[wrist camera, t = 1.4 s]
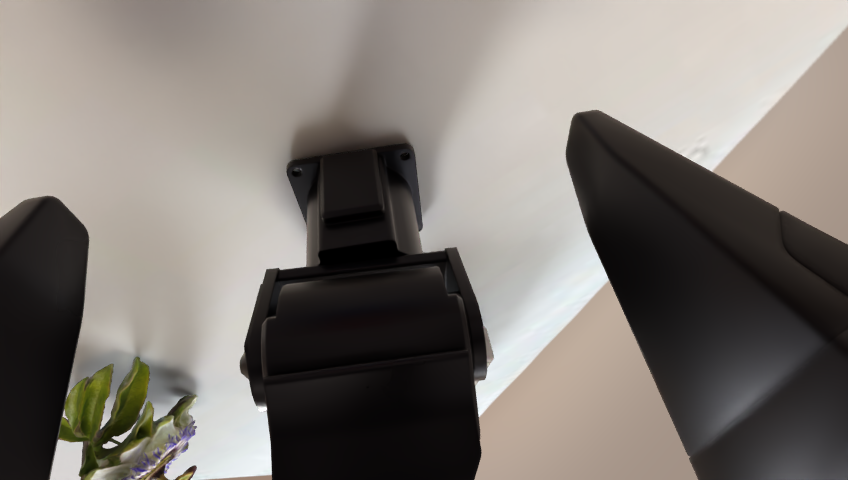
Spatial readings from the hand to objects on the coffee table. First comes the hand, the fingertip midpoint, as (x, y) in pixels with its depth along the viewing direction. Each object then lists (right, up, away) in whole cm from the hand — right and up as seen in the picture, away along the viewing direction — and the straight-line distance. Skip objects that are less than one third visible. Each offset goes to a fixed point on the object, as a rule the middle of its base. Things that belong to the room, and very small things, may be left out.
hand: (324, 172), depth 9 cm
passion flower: (-22, -13, +31) cm, 41 cm away
